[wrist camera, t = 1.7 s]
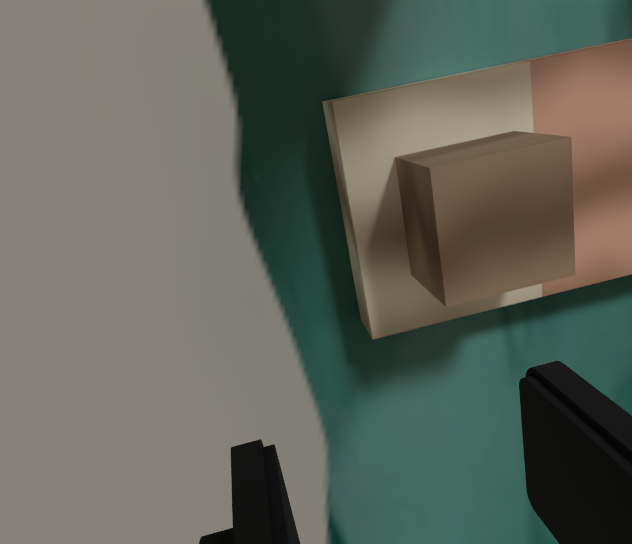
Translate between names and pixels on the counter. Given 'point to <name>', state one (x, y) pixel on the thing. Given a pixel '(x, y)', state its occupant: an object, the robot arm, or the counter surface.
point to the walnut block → (489, 214)
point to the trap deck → (473, 123)
